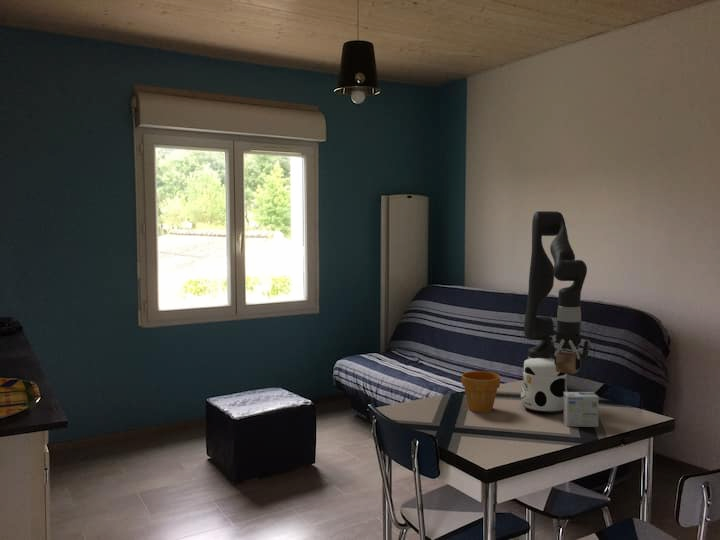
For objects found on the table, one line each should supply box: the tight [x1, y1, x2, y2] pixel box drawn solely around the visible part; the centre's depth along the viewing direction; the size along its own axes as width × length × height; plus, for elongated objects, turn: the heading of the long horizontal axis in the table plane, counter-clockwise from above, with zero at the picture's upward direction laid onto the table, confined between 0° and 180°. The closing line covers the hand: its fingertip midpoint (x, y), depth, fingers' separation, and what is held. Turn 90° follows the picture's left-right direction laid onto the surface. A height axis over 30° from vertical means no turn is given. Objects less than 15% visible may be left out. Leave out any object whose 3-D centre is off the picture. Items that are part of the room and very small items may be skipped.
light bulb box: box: [563, 391, 599, 428], centre depth 213 cm, size 11×7×11 cm, turn 84°
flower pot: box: [461, 370, 501, 413], centre depth 231 cm, size 14×14×13 cm
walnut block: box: [556, 350, 580, 375], centre depth 207 cm, size 6×6×6 cm
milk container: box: [520, 358, 569, 414], centre depth 230 cm, size 17×17×18 cm
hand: (567, 368), depth 207 cm, fingers closed on walnut block, 6 cm apart
